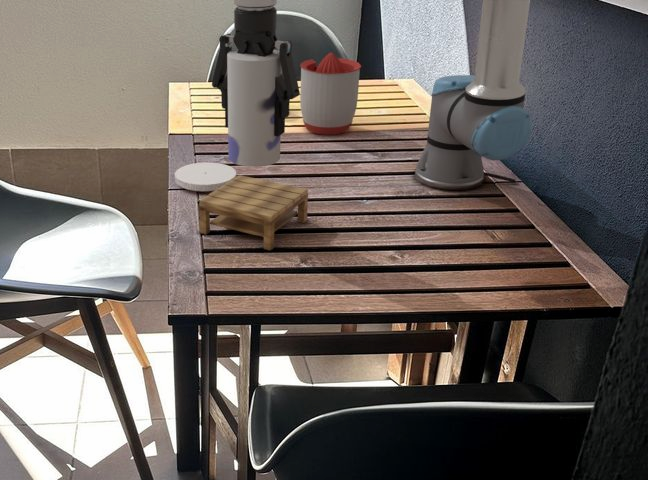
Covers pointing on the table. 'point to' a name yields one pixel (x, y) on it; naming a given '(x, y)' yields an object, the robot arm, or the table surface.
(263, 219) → the rack
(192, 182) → the plastic lid
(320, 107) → the citrus juicer
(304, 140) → the table surface
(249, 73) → the container
